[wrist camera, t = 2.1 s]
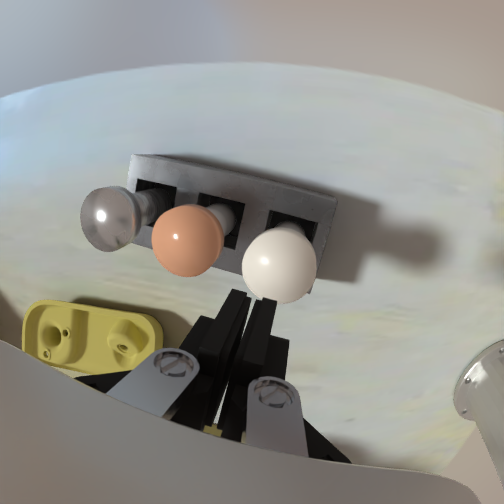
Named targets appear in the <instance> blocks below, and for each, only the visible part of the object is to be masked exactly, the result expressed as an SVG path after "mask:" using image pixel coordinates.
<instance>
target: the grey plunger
mask: <svg viewBox="0 0 504 504" xmlns="http://www.w3.org/2000/svg"><path fill="white" fill-rule="evenodd" d="M171 208H172V200H171V197H170V195H169V194H168V192H167V191H165V190H164V189H161V188H154V189H149V190H144V191H139V192H134V193H131V192H130V191H128V190H127V189H125V188H123V187H120V186H110V187H105V188H99V189H96V190H94V191H92V192H91V193H90V194H89V195H88V196H87V197H86V199H85V200H84V202H83V205H82V208H81V217H80V218H81V226H82V229H83V232H84V234H85V236H86V238H87V239H88V241H89V242H90V243H91V244H92V245H93V246H94V247H95V248H97V249H99V250H101V251H104V252H113V251H116V250H118V249H120V248H122V247H124V246H126V245H128V244H130V243H131V242H133V241H134V240H135V239H136V237H137V236H138V234H139V232H140V229H141V227H142V226H144V225H147V224H149V223H152V222H154V221H156V220H158V218H159V217H160V216H161V215H162V214H163V213H165V212H166V211H168V210H170V209H171Z"/></svg>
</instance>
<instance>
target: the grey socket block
mask: <svg viewBox="0 0 504 504" xmlns="http://www.w3.org/2000/svg"><path fill="white" fill-rule="evenodd" d="M156 182H157V183H161V184H166V185H170V186H175V187H177V191H176V197H175V203H174V208H175V207H178V206H181V205H185V204H196V205H200V206H203V207H205V208H206V207H208V206H210V201H211V196H212V195H213V196H217V197H221V198H226V199H230V200H234V201H238V202H242V203H246V204H245V208H244V212H243V217H242V221H241V226H240V230H239V235H238V237H235V236H232V235H228V234H227V235H226V236H225V237H224V246H223V250H222V252H221V254H220V256H219V258H218V259H217V260H216V261H215V262H214V263H213V264H212V265H211V267H215V268H218V269H222V270H225V271H229V272H232V273H236V274H239V275H243V274H242V261H243V257H244V254H245V252H246V250H247V249H248V247H249V246H250V244H251V243H252V242H253V240H254V239H255V238H256V237H257V236H258V235H259V234H261V233H262V232H264V231H266V230H269V226H270V222H271V218H272V214H273V211H277V212H281V213H284V214H288V215H292V216H296V217H299V218H303V219H307V220H310V221H314V222H315V226H314V230H313V233H312V237H311V240H310V243H311V245H312V247H313V249H314V251H315V255H316V267H317V270H318V267H319V264H320V261H321V257H322V254H323V251H324V247H325V244H326V240H327V237H328V234H329V230H330V227H331V223H332V219H333V216H334V212H335V209H336V205H337V201H336V199H335V198H334V197H333V196H329V195H326V194H322V193H319V192H315V191H311V190H308V189H304V188H300V187H296V186H292V185H289V184H285V183H281V182H277V181H273V180H269V179H265V178H261V177H256V176H252V175H248V174H244V173H239V172H235V171H231V170H226V169H222V168H217V167H213V166H208V165H203V164H198V163H193V162H189V161H184V160H178V159H173V158H168V157H163V156H157V155H151V154H136V155H132V156H131V162H130V168H129V174H128V180H127V187H126V189H127V190H128V191H130V192H131V193H134V192H139V191H144V190H149V189H154V188H155V185H156ZM156 221H157V220H156ZM156 221H154V222H152V223H149V224H147V225H144V226H142V227H141V229H140V232H139V234H138V236H137V237H136V239H135V240H134V241H133V242H131V243H134V244H137V245H140V246H144V247H147V248H150V249H153V247H152V231H153V228H154V225H155V223H156ZM316 274H317V271H316ZM312 286H313V285H312ZM311 289H312V287H311ZM311 289H310V290H309V291H308V292H307V293H308V294H310V293H311Z"/></svg>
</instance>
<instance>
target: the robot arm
mask: <svg viewBox="0 0 504 504" xmlns="http://www.w3.org/2000/svg"><path fill="white" fill-rule="evenodd" d="M246 296H247V293H246V292H243V291H239V290H236V289H232V290H231V292H230V294H229V295H228V297H227V299H226V301H225V302H224V304H223V306H222V308H221V309H220V311H219V313H218V315H217V317H216V318H215V319H212V318H209V317H205V316H200V317H199V319H198V320H197V322H196V323H195V325H194V326H193V328H192V329H191V331H190V332H189V334H188V335H187V337H186V338H185V340H184V341H183V343H182V344H181V346H180V347H179V349H176V348H162V349H159V350H156V351H155V352H153V353H151V354H150V355H149V356H148V357H147V358H146V359H145V360H143V361H142V362H141V363H140V364H139V365H138V366H137V367H136V368H134V369H133V370H127V371H120V372H113V373H105V374H97V375H89V376H80V377H76V378H72V377H70V376H68V375H66V374H64V373H62V372H60V371H58V370H57V369H55V368H53V367H51V366H49V365H48V364H46V363H44V362H42V361H40V360H38V359H36V358H35V357H33V356H31V355H29V354H27V353H26V352H24V351H22V350H20V349H19V348H17V347H15V346H13V345H11V344H9V343H7V342H5V341H2V340H0V504H481V502H480V501H479V499H478V497H477V496H476V495H475V494H474V492H473V491H472V490H471V489H469V488H468V487H467V486H465V485H463V484H461V483H459V482H457V481H455V480H452V479H449V478H446V477H443V476H440V475H436V474H431V473H427V472H422V471H414V470H407V469H395V468H384V467H375V466H366V465H356V464H352V463H351V462H350V460H349V459H348V458H347V457H346V456H345V455H343V454H342V453H341V452H340V451H339V450H338V449H337V448H336V447H334V446H333V445H332V444H331V443H330V442H329V441H328V440H327V439H326V438H325V437H323V436H322V435H321V434H320V433H319V432H318V431H317V430H316V429H315V428H314V427H313V426H312V425H311V424H309V423H308V422H307V421H306V420H305V419H304V418H303V415H302V408H301V401H300V396H299V393H298V391H297V390H296V389H295V387H294V386H293V385H291V384H290V383H289V382H287V381H285V375H286V367H287V358H288V350H289V340H287V339H284V338H280V337H276V336H272V335H270V333H271V328H272V324H273V319H274V315H275V310H276V305H277V301H276V300H272V299H268V298H265V297H263V298H262V301H261V300H257V299H256V301H255V304H254V306H253V309H252V312H251V315H250V318H249V320H248V323H247V326H246V328H245V331H244V327H245V323H246V319H247V315H248V311H249V307H250V303H251V298H250V297H246ZM243 331H244V334H243ZM242 335H243V337H242ZM241 338H242V339H241ZM228 381H229V382H228ZM227 384H228V386H227ZM226 387H227V390H226V393H225V397H224V401H223V405H222V409H221V413H220V417H219V421H218V425H217V429H219V430H222V433H221V437H219V436H216V435H212V434H209V433H206V432H203V430H204V428H205V425H206V426H209V427H212V424H213V422H214V419H215V416H216V414H217V411H218V408H219V406H220V403H221V400H222V397H223V395H224V392H225V389H226ZM453 400H454V406H455V408H456V410H457V412H458V414H459V415H460V416H461V417H462V418H464V419H467V420H472V421H475V422H476V425H477V427H478V429H479V431H480V433H481V435H482V438H483V440H484V442H485V444H486V446H487V449H488V451H489V454H490V456H491V458H492V461H493V463H494V465H495V468H496V471H497V473H498V476H499V478H500V481H501V483H502V486H503V489H504V340H502V341H500V342H498V343H495V344H493V345H492V346H490V347H489V348H487V349H485V350H484V351H483V352H482V353H480V354H479V355H478V356H477V357H476V358H475V359H474V360H473V361H472V362H471V363H470V364H469V366H468V367H467V368H466V369H465V371H464V372H463V374H462V375H461V377H460V379H459V381H458V383H457V385H456V388H455V391H454V399H453Z"/></svg>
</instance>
